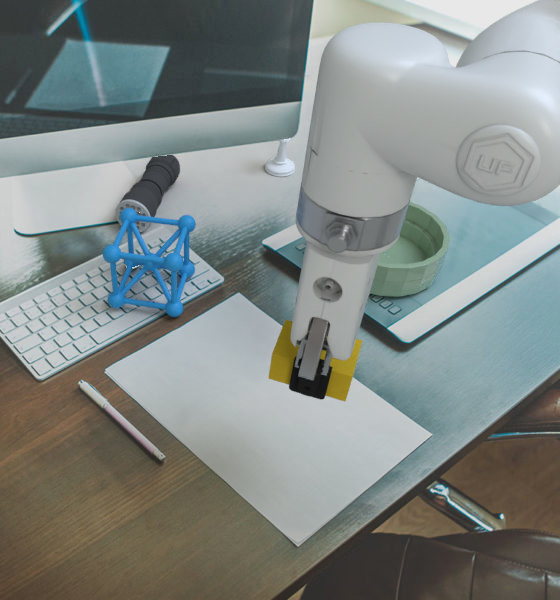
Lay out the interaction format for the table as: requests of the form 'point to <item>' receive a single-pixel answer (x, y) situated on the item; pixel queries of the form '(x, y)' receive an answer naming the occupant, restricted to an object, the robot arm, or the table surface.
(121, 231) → the molecular structure
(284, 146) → the chess piece
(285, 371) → the sponge
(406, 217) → the bowl
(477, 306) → the table surface
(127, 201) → the flashlight
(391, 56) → the robot arm
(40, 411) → the table surface
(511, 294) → the table surface
